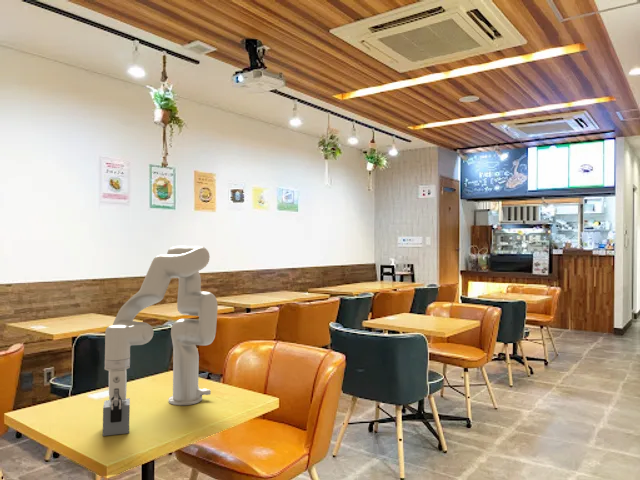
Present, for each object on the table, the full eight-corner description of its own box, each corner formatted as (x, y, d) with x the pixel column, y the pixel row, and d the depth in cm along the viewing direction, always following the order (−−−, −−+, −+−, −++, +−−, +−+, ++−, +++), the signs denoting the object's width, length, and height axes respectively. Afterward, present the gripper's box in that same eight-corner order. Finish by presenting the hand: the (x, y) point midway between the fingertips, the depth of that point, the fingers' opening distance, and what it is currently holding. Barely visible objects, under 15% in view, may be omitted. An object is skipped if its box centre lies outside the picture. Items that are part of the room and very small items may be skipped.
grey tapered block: (129, 424, 164) (129, 398, 164) (129, 432, 156) (129, 405, 157) (104, 427, 161) (104, 400, 161) (102, 436, 154) (103, 407, 154)
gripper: (129, 369, 152) (128, 424, 152) (130, 357, 168) (129, 407, 168) (103, 370, 150) (102, 427, 149) (106, 358, 166) (105, 409, 165)
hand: (116, 416), depth 159 cm, fingers open, 9 cm apart
